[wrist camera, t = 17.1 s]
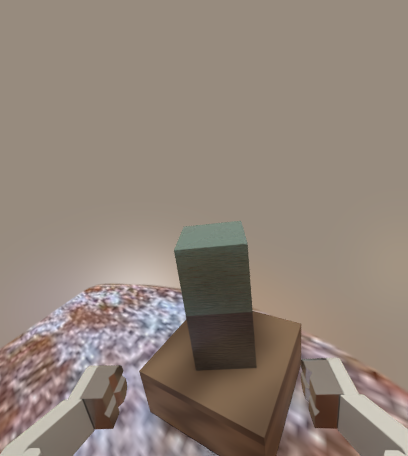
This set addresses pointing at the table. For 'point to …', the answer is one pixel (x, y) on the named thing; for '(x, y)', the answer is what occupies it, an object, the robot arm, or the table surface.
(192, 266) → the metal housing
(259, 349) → the walnut stand
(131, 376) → the table surface
